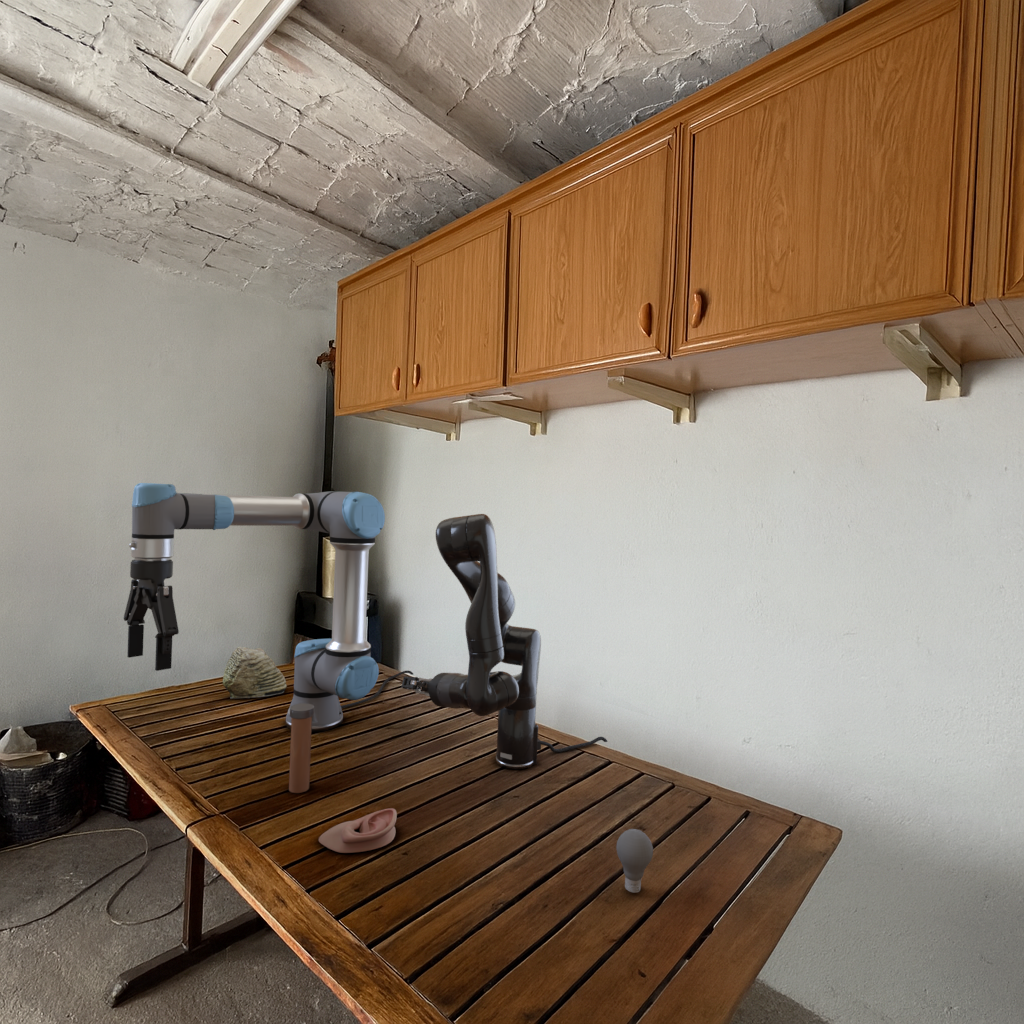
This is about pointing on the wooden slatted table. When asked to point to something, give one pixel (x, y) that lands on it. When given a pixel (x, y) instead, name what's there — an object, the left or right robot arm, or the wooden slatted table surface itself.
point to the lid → (301, 711)
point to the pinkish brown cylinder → (300, 754)
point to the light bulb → (634, 857)
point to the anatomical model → (362, 833)
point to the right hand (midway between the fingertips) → (419, 687)
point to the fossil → (252, 674)
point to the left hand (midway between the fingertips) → (148, 662)
